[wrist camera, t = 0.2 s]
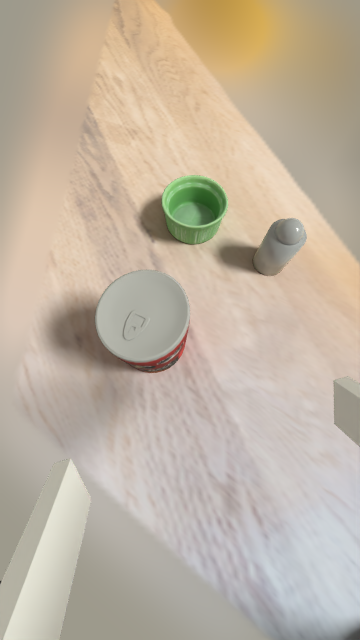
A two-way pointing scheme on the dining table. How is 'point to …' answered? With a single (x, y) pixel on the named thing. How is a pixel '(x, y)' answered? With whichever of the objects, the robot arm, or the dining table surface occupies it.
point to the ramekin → (194, 208)
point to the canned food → (144, 320)
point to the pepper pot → (279, 246)
